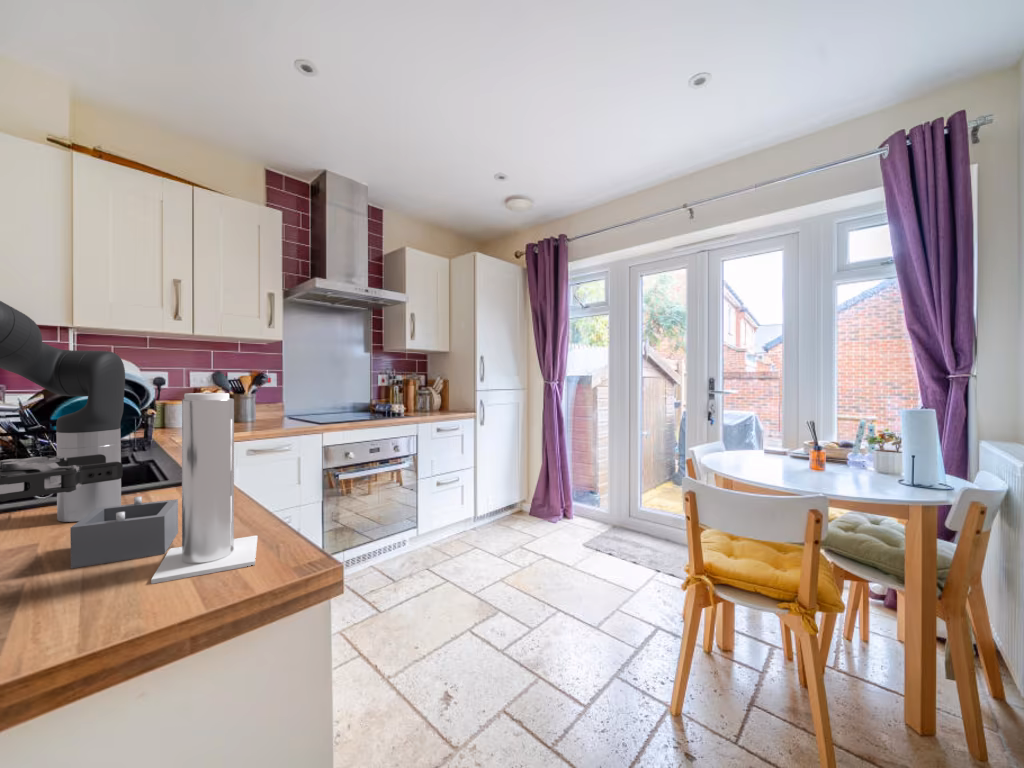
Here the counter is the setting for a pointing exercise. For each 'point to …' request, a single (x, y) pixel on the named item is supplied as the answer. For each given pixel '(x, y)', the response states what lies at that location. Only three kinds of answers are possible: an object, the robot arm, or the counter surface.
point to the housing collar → (124, 532)
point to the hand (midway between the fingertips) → (113, 465)
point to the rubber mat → (179, 569)
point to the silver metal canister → (207, 477)
